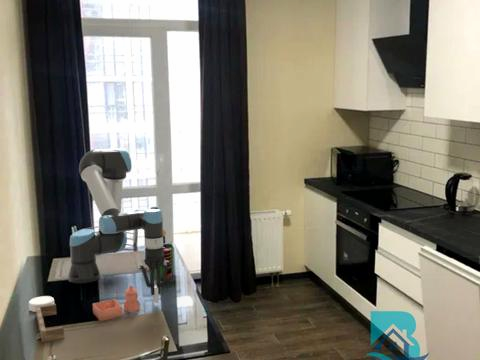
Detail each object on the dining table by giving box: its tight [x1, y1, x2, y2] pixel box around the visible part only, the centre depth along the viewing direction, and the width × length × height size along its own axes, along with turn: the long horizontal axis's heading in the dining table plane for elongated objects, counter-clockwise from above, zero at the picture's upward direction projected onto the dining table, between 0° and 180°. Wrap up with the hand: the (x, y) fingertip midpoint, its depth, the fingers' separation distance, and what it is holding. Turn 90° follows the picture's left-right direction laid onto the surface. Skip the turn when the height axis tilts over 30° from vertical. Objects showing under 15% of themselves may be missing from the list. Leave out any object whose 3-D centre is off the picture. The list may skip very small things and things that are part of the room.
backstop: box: [35, 303, 65, 343], centre depth 198 cm, size 26×8×4 cm, turn 25°
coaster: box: [28, 295, 55, 313], centre depth 217 cm, size 10×10×4 cm
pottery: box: [92, 285, 141, 322], centre depth 211 cm, size 18×10×10 cm, turn 122°
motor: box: [154, 242, 174, 281], centre depth 253 cm, size 10×9×20 cm
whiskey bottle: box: [145, 206, 167, 273], centre depth 266 cm, size 10×10×32 cm
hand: (155, 301), depth 217 cm, fingers closed
